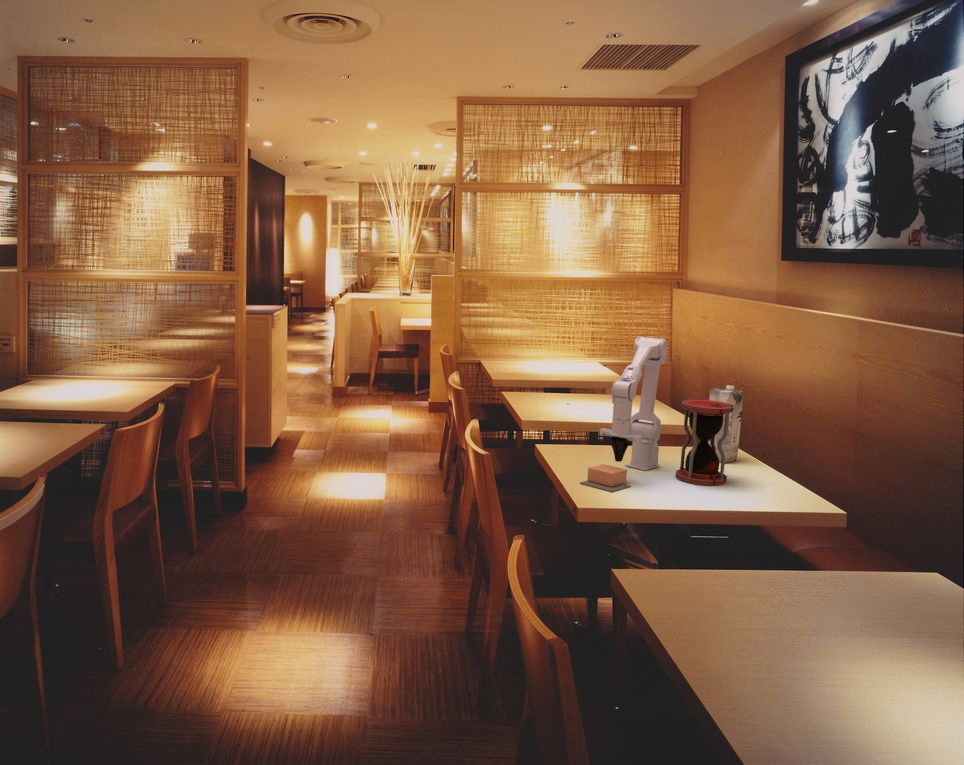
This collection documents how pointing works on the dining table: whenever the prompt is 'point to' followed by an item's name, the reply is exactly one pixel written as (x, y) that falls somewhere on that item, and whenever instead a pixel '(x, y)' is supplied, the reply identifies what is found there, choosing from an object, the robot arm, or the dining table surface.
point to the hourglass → (704, 442)
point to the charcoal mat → (603, 487)
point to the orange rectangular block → (607, 475)
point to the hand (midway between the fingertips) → (618, 461)
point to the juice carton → (734, 423)
